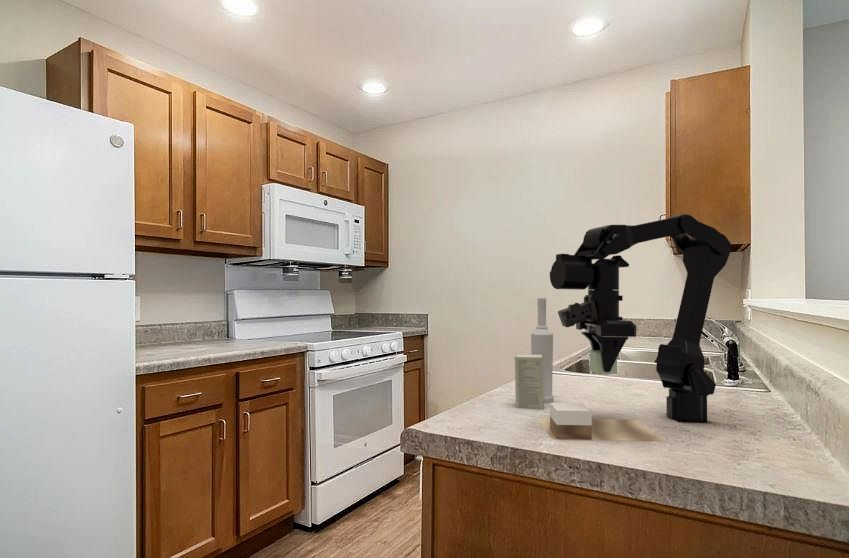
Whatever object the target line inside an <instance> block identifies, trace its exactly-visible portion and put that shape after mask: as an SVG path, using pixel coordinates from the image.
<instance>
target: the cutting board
mask: <svg viewBox="0 0 849 558" xmlns="http://www.w3.org/2000/svg"><path fill="white" fill-rule="evenodd" d="M536 419H537V420H538V422H539V424H540V425H541V426H542V428H543V429H544V431H545V432H546V434H547V435H548V437H549V438H550V439H551V440H558V439H557V438H556V437H555V436H554V434H553V433H552V431H551V430H550V417H547V418H546V417H543V418H542V417H537V418H536ZM562 440H564V441H566V440H571V441H575V440H577V439H562ZM577 441H578V440H577ZM591 441H616V442H617V441H619V442H660V443H662V442H664V443H665V442H669V441H668V440H667V439H665V438H664V437H662V436H661V435H660V434H658V433H656V431H654V430H652V429H651V428H649V427H648V426H646V425H645V424H644V423H643V422H641V421H639V420H638V419H617V418H615V419H607V418H601V419H599V418H592V440H591Z"/></svg>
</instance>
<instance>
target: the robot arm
mask: <svg viewBox="0 0 849 558" xmlns="http://www.w3.org/2000/svg"><path fill="white" fill-rule="evenodd" d="M667 237H670V238H671V239H672V241H673V244H674V246H675V247H676V248H677V249H678V250H679V251H680V252H682V253H683V254H682V263H683V265H684V268H685V271H686V279H685V282H684V283H685V284H684V287H683V290H682V291H683V292H682V297H681V299H680V305H679V308H678V313H677V318H676V322H675V327H674V331H673V335H672V338H671V339H670V341H669V342H668V343H667V344H664V343H661V344H659V346H658V349H657V355H656V356H657V357H656V359H654V363H655V364H656V365H655V369H656V370H655V371H656V373H657V375H658V377H659V378H660V381H661V384H662V388H664V389H668V395H667V396H666V413H665V416H666V417H668V418H670V419H672V420H674V421H676V422H677V423H681V424H682V423H685V424H689V423H690V424H693V423H694V424H712V423H713V422H712V421H711V420H708V396H709V395H714V394H715V390H716V387H717V385H716V384H717V383H715V381H714V380H713V379H712V378H711V377H710V376H709V374H707V372H706V371H705V360H706V359H705V355H704V353H703V351H702V347H701V345H700V344H701V338H702V334H703V330H704V325H705V321H706V317H707V316H706V315H707V312H708V307H709V304H710V298H711V294H712V288H713V284H714V280H715V277H716V276H718V274H719V273H720V272H721V271H722V270H723V269H724V268H725V267H726V265H727V262H728V261H729V257H730V254H731V251H732V243H731V241H730V240H729V239H728V237H727V236H726V235H725V234H723V233H721V232H720V231H719V230H718V229H716V228H715V227H714V226H713V227H712V226H710V225H709V224H706V223H703V222H700V221H699V220H697V219H696V218H695V217H694V216H692V215H691V214H687V213H683V214H678V215H673V216H669V217H667V218H664V219H659V220H654V221H650V222H649V221H648V222H645V223H639V224H636V225H634V224H633V225H628V224H607V225H604V226H598V227H594V228H590V229H588V230H587V231H586V232H585V234H584V236H583V241H582V242H581V244H580V246H579V247H578V248H577V250H576V251H575V253H574V254H569V253H558V254H557V253H556V255H555V261H554V262H553V263H552V265H551V270H550V271H549V279H550V283H551V286H552V287H553V288H554V289H556V290H586V289H587V294H585V296H583V302H581V303H579V302H574V303H573V304H569V305H568V307H566V308H563V309H561V310H558V311H557V314H558V317H559V320H560V323H561V325H562V327H565V328H569V327H574V326H575V329H576V330H580V333H581V335H583V336H584V337H585V338H586V339H587V340H588V341H589V343H590V347H591V350H600V352H601V359H602V365H603V370H604V372H610V371H611V369H612V367H613V365H614V363H615V360H616V358H617V359H618V356H619V354H620V352H621V350H622V349H623V347H624V345H625V343H626V342H627V341H628V340H629V337H630V338H636V337H637V325H636V324H635V323H633V321H631V320H628V319H624V318H623V316H620V301H621V302H622V301H623V298H624V297H623V295H620V268H629V267H630V264H629V262H628V261H626V260H625V259H624V258H623V257H622V255H620V253H622V252H624V251H627V250H629V249H631V247H633V246H635V245H637V244H639V243H644V242H648V241H653V240H657V239H662V238H663V239H664V238H667ZM617 254H619V255H617ZM611 255H612V257H611V258H607V257H609V256H611ZM593 260H595V262H593ZM582 330H584V331H582Z"/></svg>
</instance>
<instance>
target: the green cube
mask: <svg viewBox="0 0 849 558" xmlns="http://www.w3.org/2000/svg"><path fill="white" fill-rule="evenodd" d="M589 372H592V373H594V374H597V375H599V374H600V375H602V374H603V375H618V357H617V358H616V360H615V363H614V365H613V367H612V369H611V371H610V372H604V370H603V365H602V359H601V352H600V350H592V349H590V350H589Z"/></svg>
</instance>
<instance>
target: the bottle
mask: <svg viewBox="0 0 849 558" xmlns="http://www.w3.org/2000/svg"><path fill="white" fill-rule="evenodd" d="M536 302H537V305H536V306H537V326H535V327H536V328H535V330H533V331H532V332H531V333H530V349H531V352H530V355H542V358H543V397H544V404H550V403H554V395H553V376H554V375H553V374H554V373H553V367H554V365H553V364H554V363H553V361H554V355H553V354H554V334H553V332H551V331H550V330H549V328H548V326H547V298H546V297H545V298H538V297H537V300H536Z"/></svg>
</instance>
